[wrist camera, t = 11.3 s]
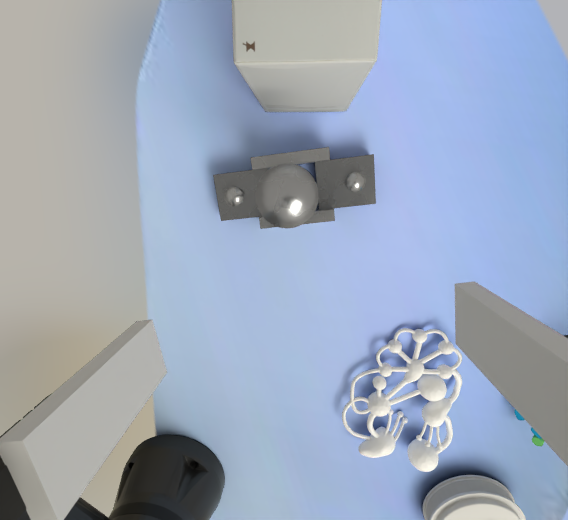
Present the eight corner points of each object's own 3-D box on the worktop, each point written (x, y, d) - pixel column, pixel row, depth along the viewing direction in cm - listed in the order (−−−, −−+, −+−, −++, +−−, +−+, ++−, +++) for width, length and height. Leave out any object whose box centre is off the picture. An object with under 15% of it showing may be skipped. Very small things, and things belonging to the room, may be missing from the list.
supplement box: (348, 113, 32) (379, 66, 18) (264, 113, 33) (229, 67, 19) (355, 11, 30) (398, -137, 16) (263, 13, 31) (224, -128, 16)
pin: (277, 210, 36) (260, 231, 23) (272, 169, 35) (250, 167, 22) (316, 206, 35) (321, 224, 23) (312, 164, 34) (315, 159, 21)
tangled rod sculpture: (366, 309, 40) (370, 323, 36) (483, 336, 38) (500, 353, 34) (333, 430, 45) (333, 454, 41) (435, 458, 43) (445, 485, 39)
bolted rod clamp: (227, 228, 37) (220, 232, 34) (216, 163, 35) (208, 163, 32) (372, 212, 35) (378, 216, 32) (369, 143, 33) (375, 140, 30)
